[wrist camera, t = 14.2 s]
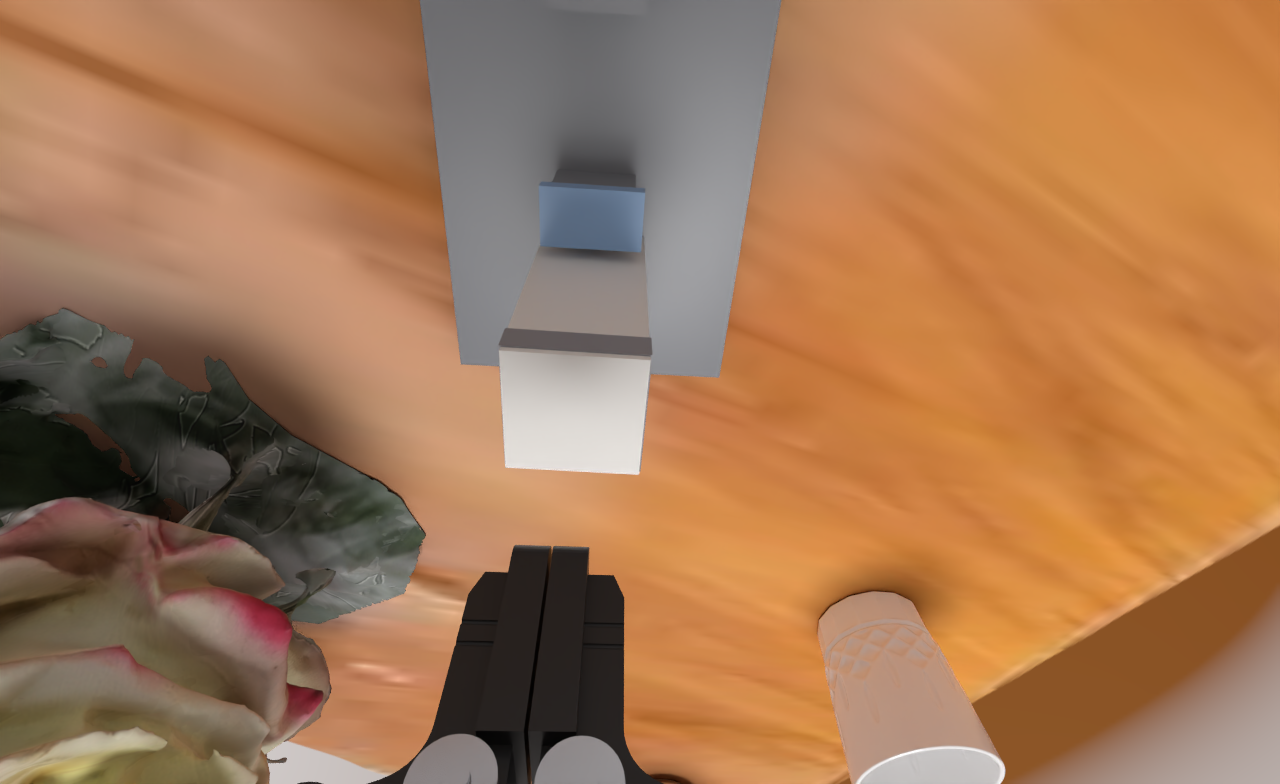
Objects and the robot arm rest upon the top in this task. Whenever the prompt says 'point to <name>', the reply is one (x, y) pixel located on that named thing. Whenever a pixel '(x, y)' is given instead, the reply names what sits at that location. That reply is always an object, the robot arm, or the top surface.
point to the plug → (577, 363)
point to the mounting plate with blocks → (599, 152)
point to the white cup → (900, 698)
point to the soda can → (667, 781)
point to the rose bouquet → (167, 568)
